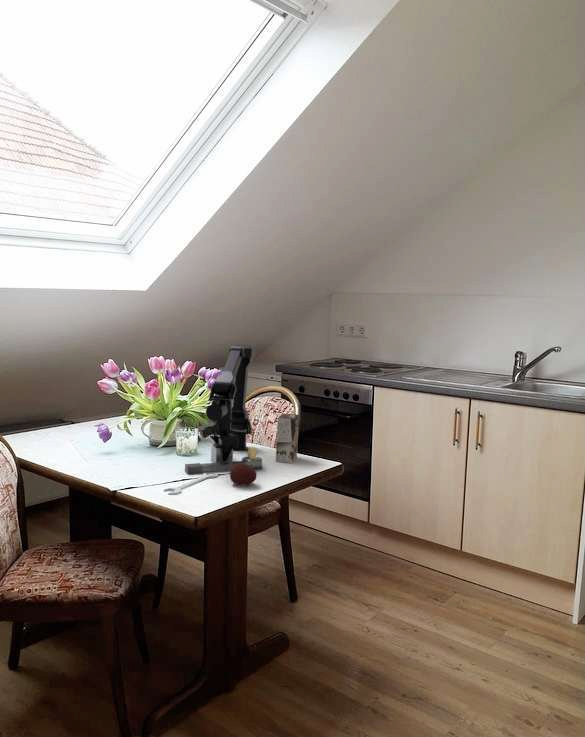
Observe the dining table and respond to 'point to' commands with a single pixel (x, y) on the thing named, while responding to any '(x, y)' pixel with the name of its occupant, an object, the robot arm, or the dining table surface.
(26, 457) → the dining table surface
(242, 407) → the robot arm
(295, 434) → the coffee box
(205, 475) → the wrench
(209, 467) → the ratchet
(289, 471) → the dining table surface
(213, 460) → the socket
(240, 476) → the potato
